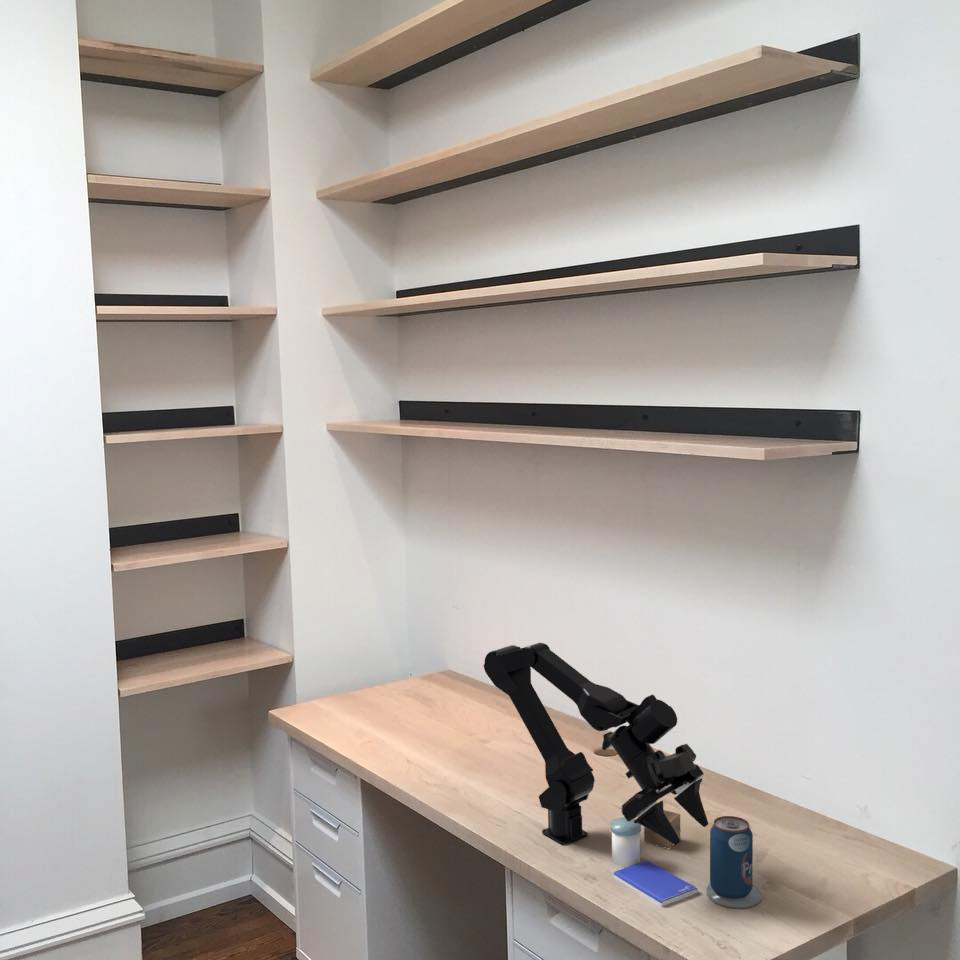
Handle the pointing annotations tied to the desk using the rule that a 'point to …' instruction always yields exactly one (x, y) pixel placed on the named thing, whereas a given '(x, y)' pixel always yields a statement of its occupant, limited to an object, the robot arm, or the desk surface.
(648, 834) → the walnut block
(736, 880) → the soda can
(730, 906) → the coaster
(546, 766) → the robot arm
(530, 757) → the desk surface
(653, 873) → the hard drive
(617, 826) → the white jar
